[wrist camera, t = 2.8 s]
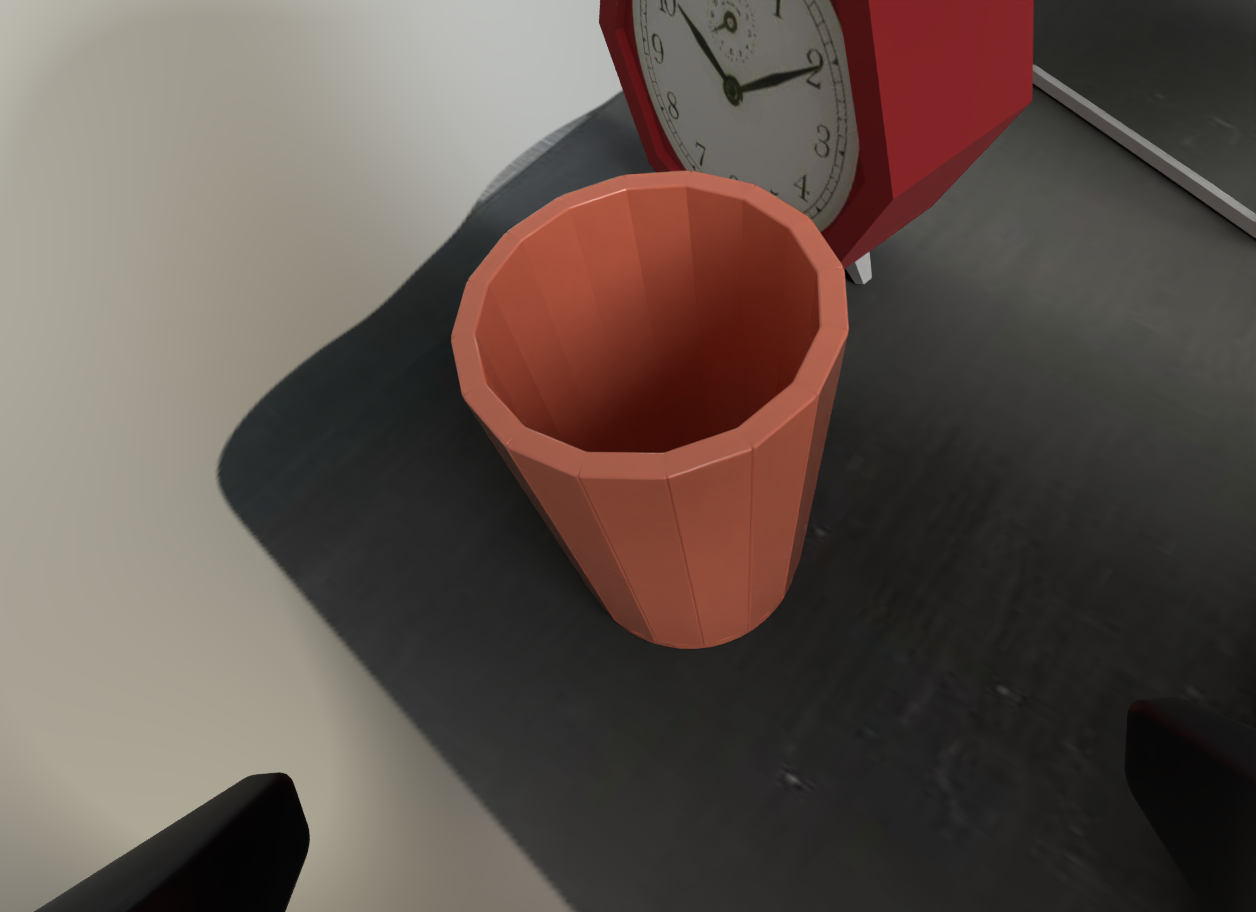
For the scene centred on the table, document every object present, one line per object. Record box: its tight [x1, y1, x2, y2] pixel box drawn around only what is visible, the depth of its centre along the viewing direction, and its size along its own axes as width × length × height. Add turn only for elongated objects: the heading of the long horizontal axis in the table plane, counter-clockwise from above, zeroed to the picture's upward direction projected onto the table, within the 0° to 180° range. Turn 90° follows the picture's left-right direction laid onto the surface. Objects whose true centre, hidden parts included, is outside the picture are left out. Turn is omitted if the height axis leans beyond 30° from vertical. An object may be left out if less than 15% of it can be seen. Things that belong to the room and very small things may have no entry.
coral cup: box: [451, 170, 849, 649], centre depth 18 cm, size 7×7×12 cm
